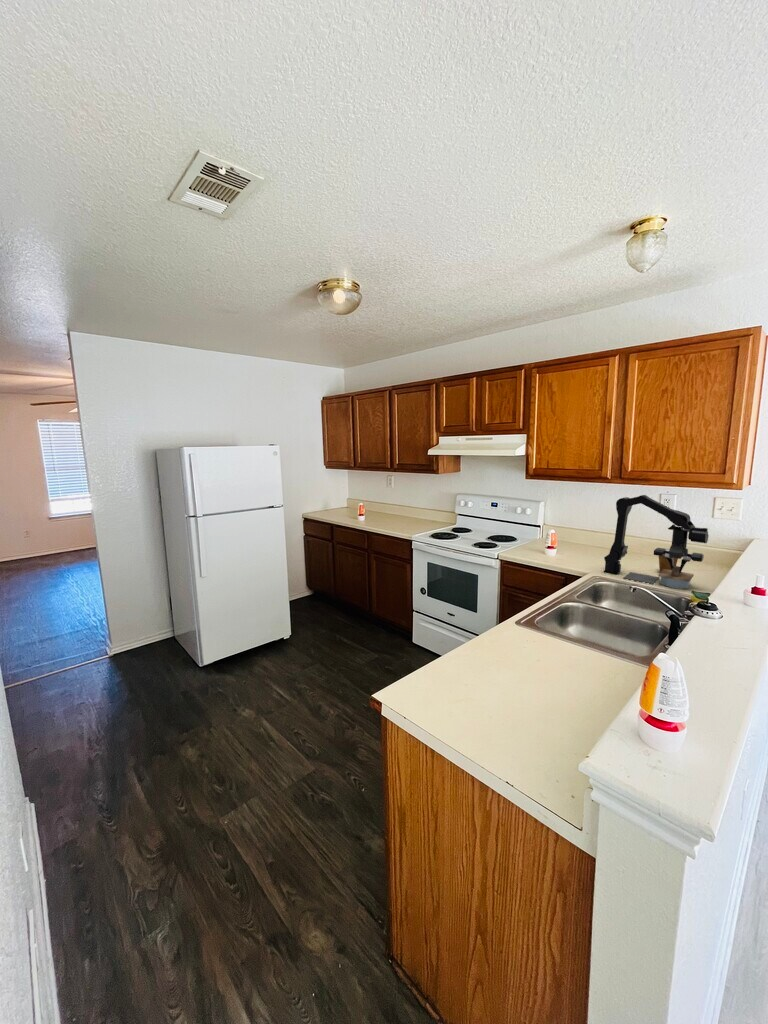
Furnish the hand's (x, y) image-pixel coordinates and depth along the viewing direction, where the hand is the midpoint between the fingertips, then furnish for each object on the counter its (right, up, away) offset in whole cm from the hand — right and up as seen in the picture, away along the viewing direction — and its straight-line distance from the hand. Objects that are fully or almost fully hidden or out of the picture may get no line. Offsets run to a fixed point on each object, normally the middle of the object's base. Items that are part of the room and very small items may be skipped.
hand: (676, 572), depth 197 cm
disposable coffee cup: (+9, -3, +20) cm, 22 cm away
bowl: (0, -6, +1) cm, 6 cm away
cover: (0, -2, 0) cm, 2 cm away
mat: (-10, -5, +11) cm, 15 cm away
